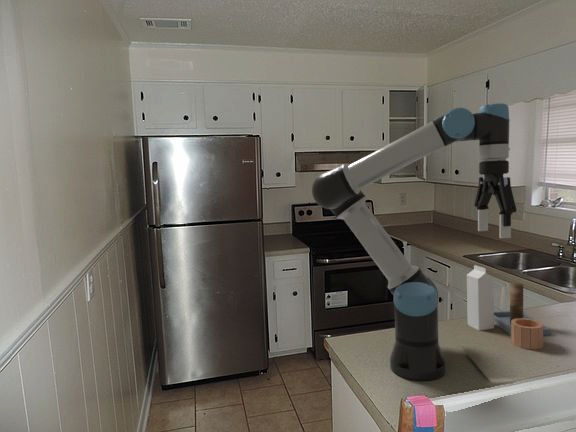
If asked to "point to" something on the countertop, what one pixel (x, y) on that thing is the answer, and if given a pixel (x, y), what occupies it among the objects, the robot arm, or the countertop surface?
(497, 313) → the tray
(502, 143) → the robot arm
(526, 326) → the cup
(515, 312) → the baguette
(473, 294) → the milk
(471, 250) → the countertop surface
